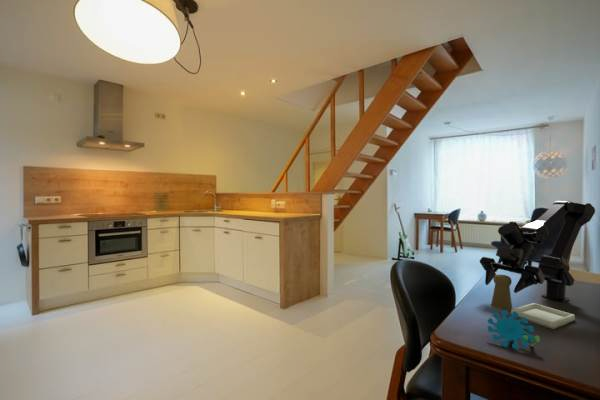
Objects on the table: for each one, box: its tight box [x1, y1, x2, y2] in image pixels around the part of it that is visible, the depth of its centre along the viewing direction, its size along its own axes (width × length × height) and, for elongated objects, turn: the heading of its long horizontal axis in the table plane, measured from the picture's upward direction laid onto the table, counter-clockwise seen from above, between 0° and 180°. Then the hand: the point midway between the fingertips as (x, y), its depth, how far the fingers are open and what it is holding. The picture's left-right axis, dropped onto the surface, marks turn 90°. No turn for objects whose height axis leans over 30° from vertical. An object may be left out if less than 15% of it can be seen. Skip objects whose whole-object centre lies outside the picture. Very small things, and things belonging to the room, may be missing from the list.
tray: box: [510, 302, 576, 330], centre depth 93 cm, size 14×11×2 cm
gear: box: [487, 309, 541, 350], centre depth 76 cm, size 11×6×10 cm
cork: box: [491, 274, 513, 311], centre depth 101 cm, size 6×6×11 cm
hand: (499, 288), depth 101 cm, fingers open, 9 cm apart
